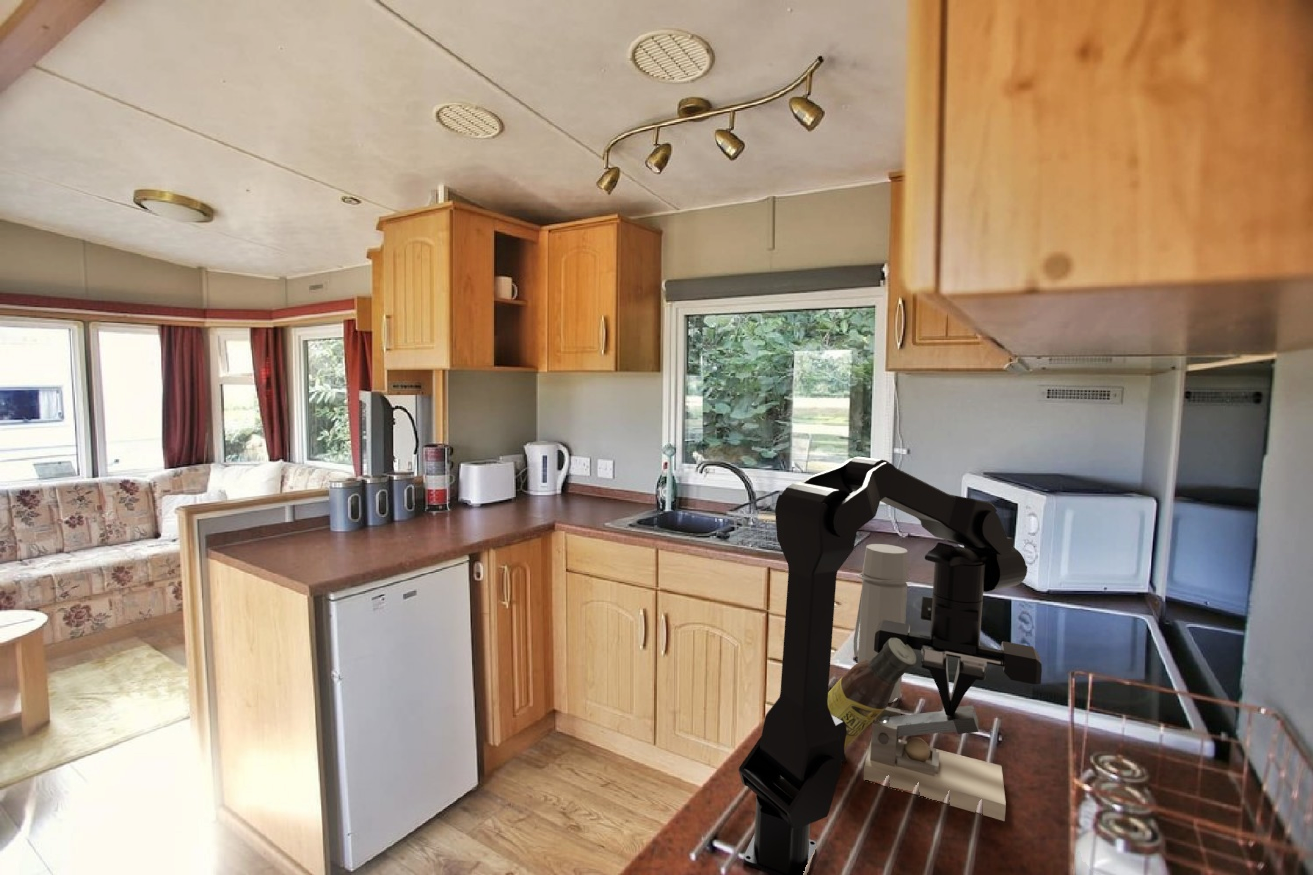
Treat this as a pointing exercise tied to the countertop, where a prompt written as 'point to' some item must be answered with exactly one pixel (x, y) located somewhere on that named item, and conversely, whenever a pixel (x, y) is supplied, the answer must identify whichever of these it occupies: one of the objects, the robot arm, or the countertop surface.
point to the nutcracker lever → (935, 722)
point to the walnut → (917, 749)
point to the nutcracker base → (934, 772)
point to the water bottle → (881, 598)
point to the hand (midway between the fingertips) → (949, 714)
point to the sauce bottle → (869, 687)
